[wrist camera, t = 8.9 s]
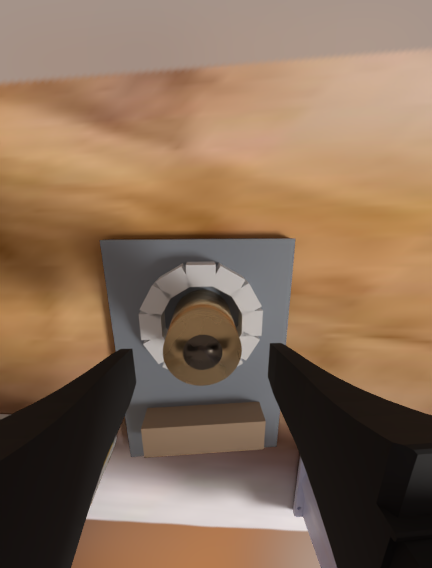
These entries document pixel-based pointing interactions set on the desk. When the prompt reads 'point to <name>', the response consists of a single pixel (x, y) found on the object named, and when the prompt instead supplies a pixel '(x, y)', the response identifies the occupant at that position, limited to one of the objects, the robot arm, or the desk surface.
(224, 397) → the jig
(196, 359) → the bushing
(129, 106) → the desk surface
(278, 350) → the robot arm
